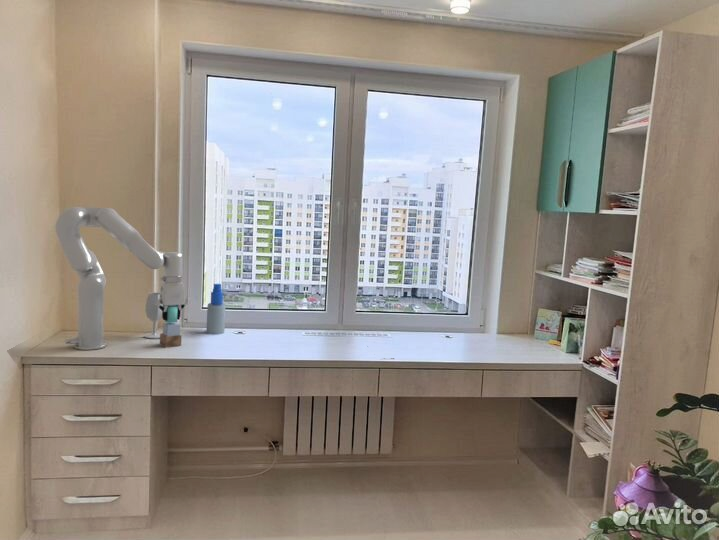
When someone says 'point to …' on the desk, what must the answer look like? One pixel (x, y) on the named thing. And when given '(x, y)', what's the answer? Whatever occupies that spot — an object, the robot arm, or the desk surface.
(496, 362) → the desk surface
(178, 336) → the walnut base
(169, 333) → the bluegrey cube
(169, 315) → the teal cylinder
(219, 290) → the spray bottle
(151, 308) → the wineglass
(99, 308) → the robot arm
